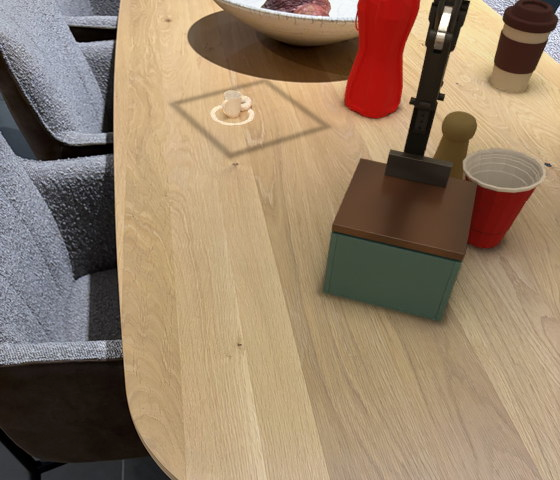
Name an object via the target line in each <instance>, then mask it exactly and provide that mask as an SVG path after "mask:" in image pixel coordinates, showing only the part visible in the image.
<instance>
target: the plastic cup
mask: <svg viewBox="0 0 560 480" xmlns="http://www.w3.org/2000/svg"><path fill="white" fill-rule="evenodd" d="M463 172H464V177H465V178H464V180H466V181H471V182H475V183H477V188H476V194H475V200H474V206H473V212H472V217H471V223H470V229H469V235H468V241H467V245H469V246H472V247H475V248H478V249H483V250H484V249H493V248H495V247H497V246H499V245H500V243H501V242H502V240H503V238H504V237H505V236H506V234H507V232H509V231H510V229H511V227H512V225H513V224H514V222H515V221H516V219H517V217H518V216H519V214H520V213H521V211H522V209H523V208H524V206H525V204H526V203H527V202H528V201H529V199H530V198H531V196H532V195H533V193H535V190H537V188H538V187H540V185H541V184H542V183H543V181H544V180H545V178H546V176H547V171H546V167H545V166H544V164H542V162H541V161H540V160H539V159H537V158H536V157H534V156H532V155H530V154H528V153H526V152H523V151H519V150H516V149H511V148H503V147H490V148H481V149H477V150H475V151H472V152H470V153H467V156H466V158H465V159H464V160H463Z"/></svg>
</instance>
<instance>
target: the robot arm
mask: <svg viewBox="0 0 560 480" xmlns="http://www.w3.org/2000/svg"><path fill="white" fill-rule="evenodd" d="M470 4H471V0H433V1H432V2H431V5H430V9H429V12H428V16H427V17H428V18H427V20H428V27H427V33H426V37H425V41H424V46H425V48H426V49H425V54H424V58H423V63H422V68H421V72H420V76H419V81H418V85H417V91H416V96H415V97H414V96H410V99H409V103H408V105H410V106H413V109H412V113H411V118H410V122H409V127H408V129H407V136H406V139H405V144H404V148H403V152H406V153H411V154H415V155H420V156H425V154H426V150H427V146H428V143H429V139H430V135H431V131H432V129H433V128H432V127H433V124H434V120H435V117H436V113H437V109H438V104H439V101H440V102H444V101H445V98H446V93H442V92H441V89H442V88H443V86H444V83H445V81H444V79H445V75H446V71H447V67H448V63H449V59H450V57H451V53H453V52H454V51H455V49H456V46H457V44H458V40H459V36H460V32H461V30H462V28H463V27H464V25H465V22H466V18H467V15H468V11H469V8H470Z"/></svg>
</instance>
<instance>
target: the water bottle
mask: <svg viewBox="0 0 560 480" xmlns="http://www.w3.org/2000/svg"><path fill="white" fill-rule="evenodd" d="M420 7H421V0H358V1H357V4H356V12H355V19H354V20H355V21H354V28H355V29H356V31H357V32H358V48H357V49H358V50H357V52H356V55H355V58H354V61H353V64H352V66H351V69H350V72H349V75H348V78H347V81H346V84H345V91H344V105H345V106H346V108H348V109H349V110H350V111H353V112H356V113H358V114H359V115H361V116H363V117H366V118H369V119H380V118H381V119H382V118H385V117H386V116H388V115H389V114H392V113H395V112H396V111H397V110H398V109H399V106H400V104H401V100H402V95H403V87H404V51H405V48H406V44H407V41H408V39H409V36H410V34H411V32H412V29H413V26H414V25H415V23H416V20H417V17H418V14H419V12H420Z"/></svg>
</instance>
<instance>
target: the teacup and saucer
mask: <svg viewBox="0 0 560 480" xmlns="http://www.w3.org/2000/svg"><path fill="white" fill-rule="evenodd" d="M252 105H253V100H252V99H251V98H250V97H249V96H248V95H243V94H242V93H241V92H240V91H238V90H227V91H225V92H224V93H223V101H222V103H221V104H218V105H216V106H214V107H213V108H212V109H211V110H210V112H209V116H210V118H211V119H212V120H213V121H214V122H216V123H218V124H221V125H224V126H231V127H236V126H242V125H247V124H249V123H251V122H252V121H253V120H254V119H255V117H256V115H255V111H254V110H253V109H252V108H251V107H252ZM220 109H222V112H223V114H225V115H226V117H228V118H230V119H231V118H232V119H235V118H238V117H239V116H240V114H241V112H245V111H247V112H248V114H249V116H248V118H247V119H245V120H243V121H240V122H226V121H223V120H221V119H219V118H218V117H217V115H216V112H217V111H218V110H220Z"/></svg>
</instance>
